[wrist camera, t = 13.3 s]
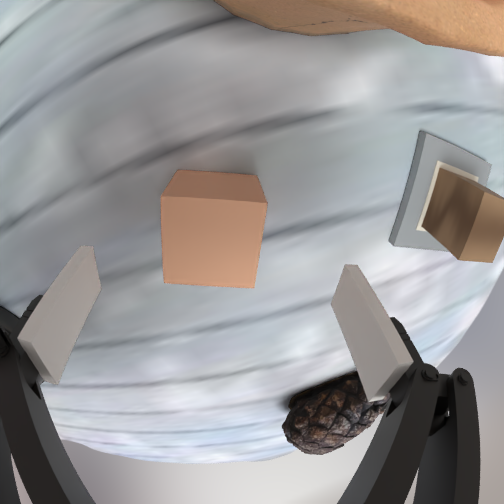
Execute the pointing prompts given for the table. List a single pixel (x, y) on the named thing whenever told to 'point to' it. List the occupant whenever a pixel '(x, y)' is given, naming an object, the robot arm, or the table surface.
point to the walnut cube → (465, 217)
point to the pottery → (385, 19)
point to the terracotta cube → (212, 228)
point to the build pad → (431, 188)
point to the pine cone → (330, 415)
